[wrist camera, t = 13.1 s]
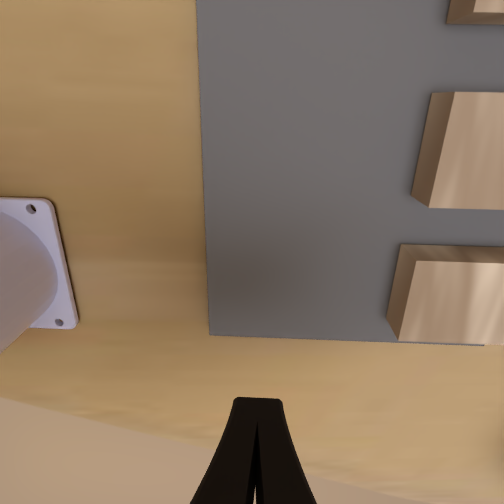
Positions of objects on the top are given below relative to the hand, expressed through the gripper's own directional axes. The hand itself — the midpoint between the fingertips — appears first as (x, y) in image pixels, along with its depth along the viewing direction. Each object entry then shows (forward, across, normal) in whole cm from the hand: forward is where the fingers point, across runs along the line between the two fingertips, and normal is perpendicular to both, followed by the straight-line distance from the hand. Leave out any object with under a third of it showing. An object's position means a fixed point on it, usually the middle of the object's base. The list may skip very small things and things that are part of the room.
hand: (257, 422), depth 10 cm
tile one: (+8, -7, 0) cm, 11 cm away
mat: (+10, -5, -7) cm, 13 cm away
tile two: (+8, -7, -7) cm, 13 cm away
